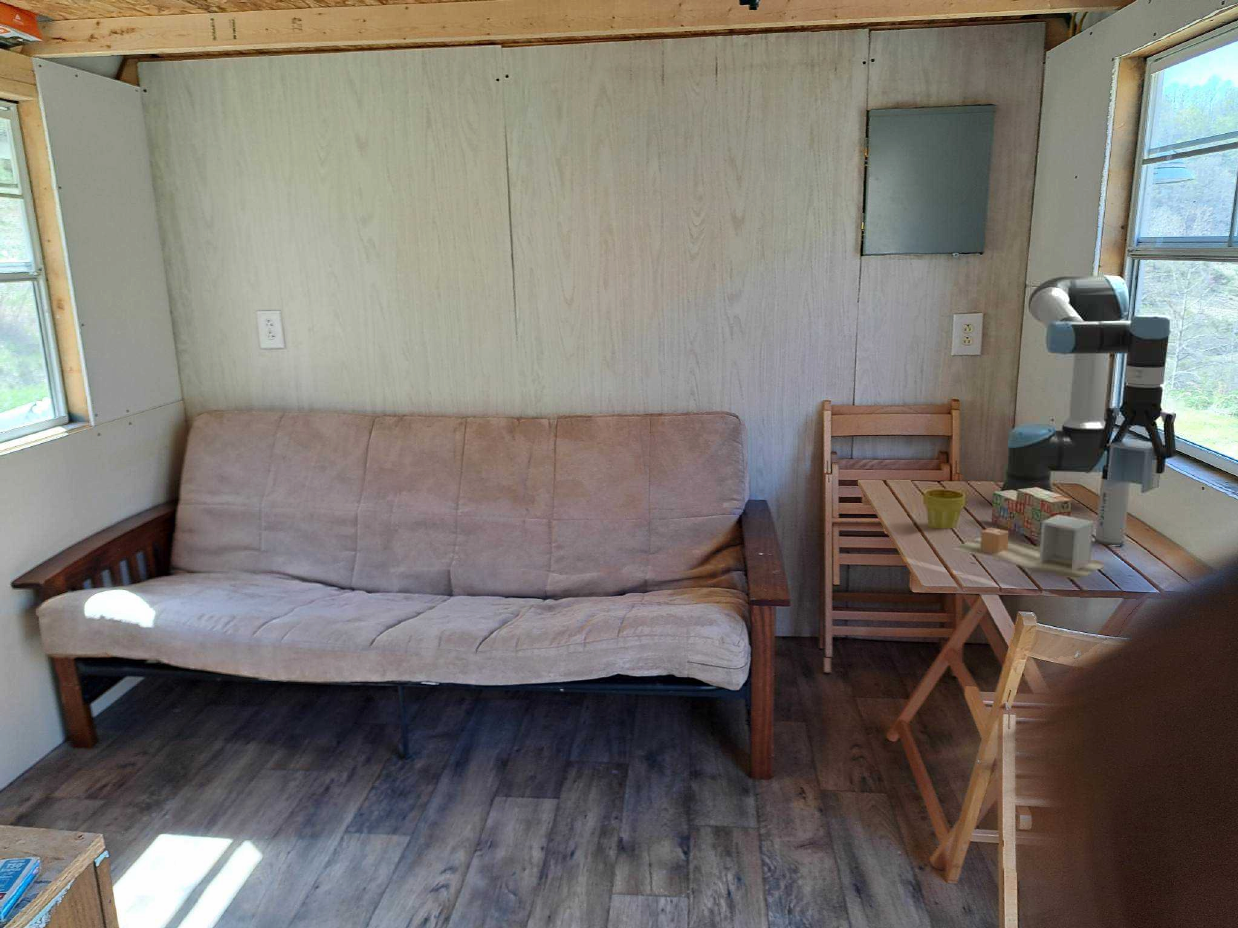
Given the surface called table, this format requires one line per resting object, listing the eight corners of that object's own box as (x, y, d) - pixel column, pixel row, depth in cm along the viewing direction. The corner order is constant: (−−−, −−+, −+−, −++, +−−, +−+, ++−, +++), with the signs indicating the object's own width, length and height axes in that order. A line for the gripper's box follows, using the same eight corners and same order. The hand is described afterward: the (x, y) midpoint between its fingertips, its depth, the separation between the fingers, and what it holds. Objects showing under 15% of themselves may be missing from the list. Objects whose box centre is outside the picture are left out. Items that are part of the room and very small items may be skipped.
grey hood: (1054, 554, 210) (1058, 514, 208) (1089, 562, 204) (1093, 521, 202) (1038, 562, 205) (1042, 521, 203) (1074, 571, 199) (1078, 529, 197)
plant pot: (966, 535, 229) (968, 499, 227) (924, 533, 232) (926, 497, 229) (959, 523, 239) (961, 488, 237) (919, 522, 241) (921, 487, 239)
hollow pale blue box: (1121, 480, 207) (1125, 439, 205) (1158, 486, 201) (1163, 443, 199) (1106, 486, 202) (1110, 444, 200) (1143, 493, 196) (1148, 449, 194)
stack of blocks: (990, 524, 238) (993, 480, 235) (1010, 522, 239) (1013, 478, 237) (1046, 548, 218) (1050, 501, 215) (1067, 546, 219) (1072, 498, 216)
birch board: (985, 538, 226) (985, 534, 226) (1108, 566, 204) (1108, 562, 204) (952, 552, 217) (952, 548, 216) (1077, 584, 194) (1078, 580, 194)
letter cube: (989, 544, 218) (991, 526, 217) (1007, 548, 215) (1008, 530, 214) (980, 548, 216) (981, 530, 215) (998, 553, 212) (999, 534, 211)
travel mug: (1120, 539, 222) (1128, 463, 218) (1125, 548, 216) (1134, 469, 212) (1092, 538, 224) (1100, 461, 220) (1097, 546, 218) (1105, 467, 214)
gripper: (1087, 382, 202) (1078, 478, 207) (1189, 391, 186) (1176, 494, 191) (1102, 379, 206) (1093, 473, 212) (1202, 387, 191) (1190, 488, 196)
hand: (1132, 483), depth 201 cm, fingers closed on hollow pale blue box, 8 cm apart
